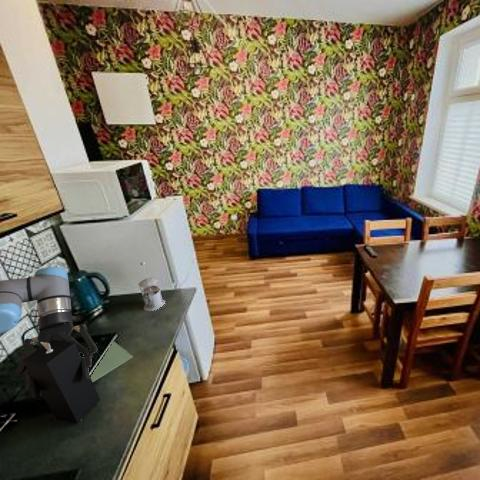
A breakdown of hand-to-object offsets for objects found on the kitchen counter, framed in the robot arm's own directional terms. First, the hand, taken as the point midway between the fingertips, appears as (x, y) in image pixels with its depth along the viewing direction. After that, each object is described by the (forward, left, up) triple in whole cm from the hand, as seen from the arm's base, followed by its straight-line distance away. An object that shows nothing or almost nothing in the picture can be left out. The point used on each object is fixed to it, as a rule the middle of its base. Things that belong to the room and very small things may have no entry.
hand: (62, 388), depth 77 cm
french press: (-39, +45, -14) cm, 61 cm away
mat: (-22, +13, -14) cm, 29 cm away
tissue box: (-3, +1, -13) cm, 14 cm away
